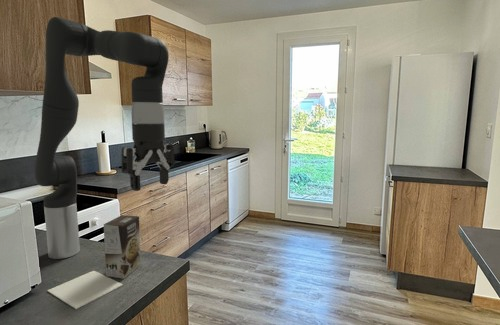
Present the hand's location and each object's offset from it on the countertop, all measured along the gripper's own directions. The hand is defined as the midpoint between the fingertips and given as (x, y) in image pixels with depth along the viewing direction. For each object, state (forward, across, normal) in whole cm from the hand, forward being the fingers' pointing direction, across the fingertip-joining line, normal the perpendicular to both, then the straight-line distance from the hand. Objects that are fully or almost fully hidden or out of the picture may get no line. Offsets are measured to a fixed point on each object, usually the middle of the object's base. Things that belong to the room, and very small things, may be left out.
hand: (150, 187), depth 78 cm
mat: (+29, +8, -18) cm, 35 cm away
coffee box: (+30, -4, -18) cm, 35 cm away
